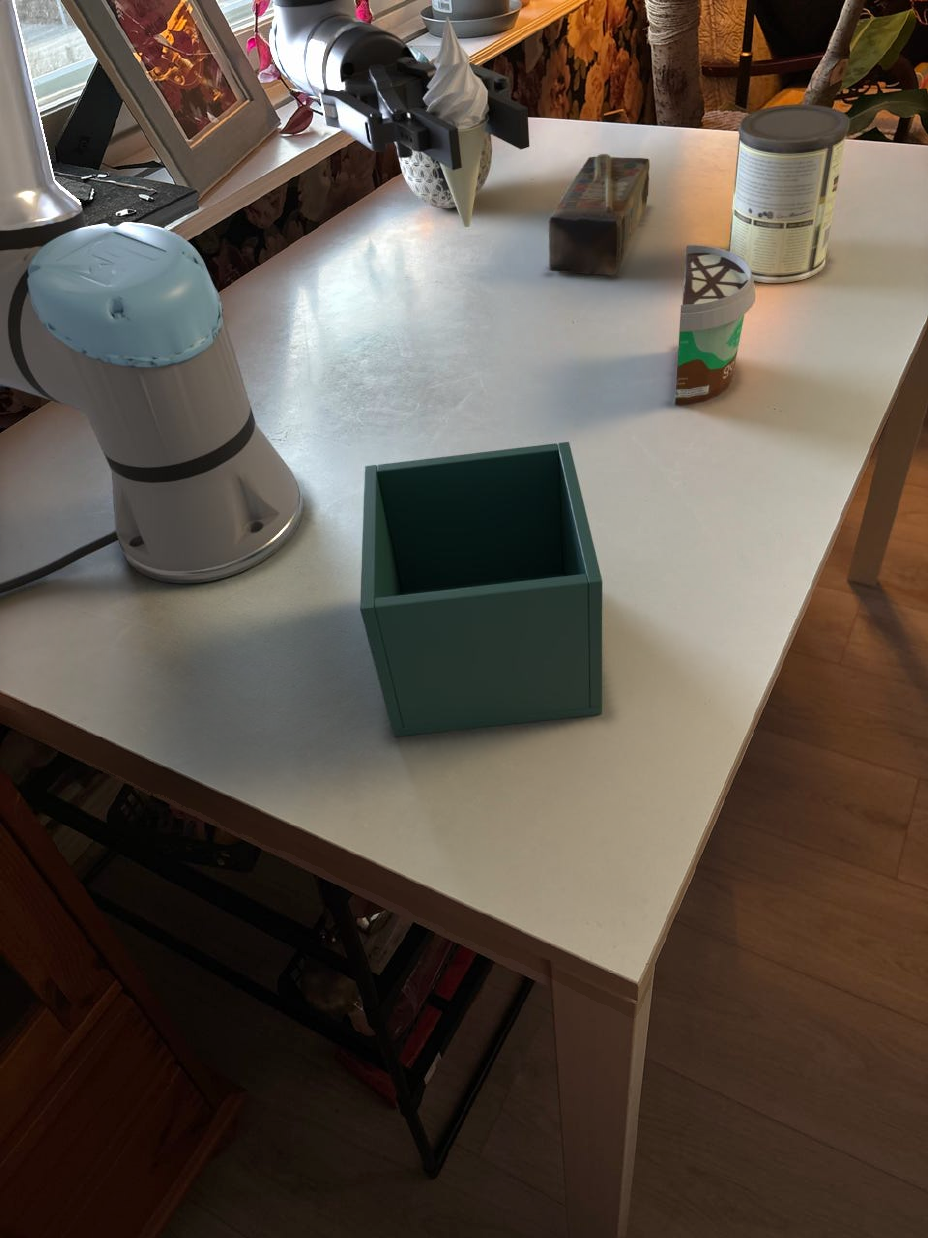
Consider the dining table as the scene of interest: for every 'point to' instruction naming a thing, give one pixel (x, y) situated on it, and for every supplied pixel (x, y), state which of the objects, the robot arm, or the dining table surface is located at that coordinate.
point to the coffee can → (786, 189)
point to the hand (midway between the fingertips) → (489, 138)
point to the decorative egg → (439, 175)
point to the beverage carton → (598, 215)
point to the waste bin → (481, 590)
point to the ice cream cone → (459, 116)
